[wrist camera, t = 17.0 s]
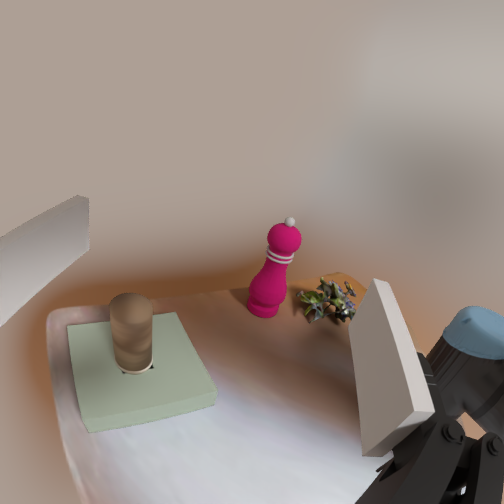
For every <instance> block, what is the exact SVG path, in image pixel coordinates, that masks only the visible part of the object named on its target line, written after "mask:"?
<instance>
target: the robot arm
mask: <svg viewBox="0 0 504 504" xmlns="http://www.w3.org/2000/svg"><path fill="white" fill-rule="evenodd" d="M89 249H90V247H89V198H86V197H82V196H78V195H77V196H75V197H73V198H71V199H69V200H67V201H65V202H63V203H61V204H59V205H57V206H55V207H53V208H51V209H49V210H47V211H46V212H44V213H42V214H40V215H38V216H36V217H35V218H33V219H31V220H29V221H28V222H26V223H24V224H22V225H21V226H19V227H17V228H15V229H14V230H12V231H10V232H9V233H7V234H6V235H4V236H2V237H1V238H0V327H1V326H2V325H3V324H5V322H6V321H8V320H9V319H10V318H11V317H12V316H13V315H14V314H15V313H16V312H17V311H18V310H19V309H20V308H21V307H22V306H23V305H25V304H26V303H27V302H28V301H29V300H30V299H31V298H32V297H33V296H34V295H36V294H37V292H39V291H40V290H41V289H42V288H43V287H45V286H46V285H47V284H48V283H49V282H50V281H52V280H53V279H54V278H55V277H56V276H57V275H59V274H60V273H61V272H62V271H63V270H65V269H66V268H67V267H68V266H70V265H71V264H72V263H73V262H74V261H76V260H77V259H78V258H79V257H81V256H82V255H83V254H85V253H86V252H87V251H88V250H89ZM348 331H349V337H350V343H351V350H352V357H353V364H354V372H355V380H356V388H357V397H358V407H359V417H360V429H361V442H362V456H370V457H383V456H384V455H385V454H387V453H388V452H389V451H390V450H393V453H394V457H393V458H392V459H391V460H389V461H388V462H387V463H385V464H384V465H382V466H381V467H379V468H378V469H377V470H376V472H379V471H381V470H382V469H383V470H382V471H381V472H380V474H379V475H378V476H377V478H376V479H375V480H374V481H373V483H372V484H371V485H370V486H369V487H368V489H367V490H366V491H365V492H364V493H363V495H362V496H361V497H360V498H359V499H358V500H357V502H356V503H355V504H501V500H502V493H503V483H504V317H503V316H501V315H499V314H498V313H496V312H494V311H492V310H489V309H486V308H483V307H479V306H468V307H465V308H463V309H462V310H460V311H459V312H458V313H457V315H456V316H455V317H454V319H453V320H452V322H451V323H450V324H449V325H448V326H447V327H446V328H445V329H444V331H443V334H442V336H441V337H440V339H439V340H438V342H437V343H436V344H435V346H434V347H433V349H432V350H431V351H430V353H429V354H428V355H427V356H426V358H425V357H424V356H423V354H422V353H418V352H416V350H415V347H414V345H413V342H412V339H411V337H410V334H409V331H408V329H407V326H406V324H405V321H404V319H403V316H402V314H401V311H400V309H399V306H398V304H397V302H396V299H395V297H394V295H393V292H392V290H391V288H390V285H389V283H388V282H385V281H381V280H378V279H374V278H373V280H372V282H371V284H370V286H369V288H368V290H367V292H366V294H365V296H364V298H363V300H362V301H361V303H360V305H359V307H358V309H357V311H356V313H355V315H354V317H353V318H352V320H351V322H350V324H349V326H348ZM464 412H466V413H467V414H468V415H469V416H470V417H472V419H473V420H474V421H475V422H476V423H477V424H478V425H479V426H480V427H482V429H483V430H484V431H485V432H486V434H485V435H483V436H482V437H481V438H480V439H479V440H476V439H472V438H470V437H467V436H465V432H464V430H463V428H462V426H461V425H460V424H459V423H458V422H457V421H456V420H457V419H458V418H459V417H460V416H461V415H462V414H463V413H464ZM465 486H466V490H465V493H464V494H462V495H461V489H462V488H463V487H465Z"/></svg>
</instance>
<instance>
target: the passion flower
mask: <svg viewBox="0 0 504 504" xmlns="http://www.w3.org/2000/svg"><path fill="white" fill-rule="evenodd" d="M332 281H333V280H332ZM320 282H321V283H322V284H321V285H319V286H318V287H317V289H318V290H321V291H323V292H324V294H322V293H320V294H318V293H317V292H314V291H309V292H307V293H305V294H303V293H304V292H303V291H302V290H301V292H298V293H297V294H296V296H297V297H298V296H299V295H300V294H302V296H301V302H306V303H309V304H312V305H310V306H309V307H308V308H307V309H306V311H305V313H304V316H306V315H307V313H308V312H309V311H310V310H311V309H314V308H315V309H316V313H315V317H314V319H313V320H312V321H310V322H309V323H311V322H313V321H315V320H317V319H319V318H324V317H325V316H326V315H330V314H334V313H335V316H336V318H339V319H340V320H341V321H342V322H345V318H346V317H349V318H350V320H352V318H353V317H354V315H355V313H356V309H354V308H353V307H352V306H353V305H355V304H354V303H352V302H351V301H350V300H348V299H349V298H347V295H348V294H349V293H350V295H351V296H354V297H356V294H355V292H354V290H353V288H352V287H351V286H350V284H348V283H347V282H346V281H345V285H346V288H347V289H348V291H347V293H343V291H342V289H341V288H340V286H339V287H338V285H337V283H334V282H332V283H331V281H330V282H329V283H330V285H329V284H327V283H326V282H325V281H324V280H323V277H321V279H320ZM322 296H323V297H322ZM329 296H330V299H328V297H329ZM324 302H329V303H330V305H334V306H335V307H336V310H335V312H332V313H328V314H324V311H325V310H326V309H327V308H328V307H329V306H330V305H329V306H328V307H326V308H325V309H323V308H322V305H323V303H324ZM317 306H319V307H320V308H321V311H319V310H318V309H317Z"/></svg>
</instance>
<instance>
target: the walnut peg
mask: <svg viewBox="0 0 504 504" xmlns="http://www.w3.org/2000/svg"><path fill="white" fill-rule="evenodd" d="M109 313H110V323H111V332H112V340H113V348H114V360H115V364H116V366H117V367H118V368H119V369H120V370H121V371H123V372H125V373H127V374H132V375H137V374H142V373H144V372H146V371H148V370H149V369H150V368H151V366H152V363H153V355H152V322H153V306H152V303H151V302H150V300H149V299H148V298H146V297H145V296H143V295H140V294H136V293H124V294H120V295H118V296H116V297H114V298H113V299H112V300H111V302H110V304H109Z"/></svg>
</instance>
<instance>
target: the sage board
mask: <svg viewBox="0 0 504 504" xmlns="http://www.w3.org/2000/svg"><path fill="white" fill-rule="evenodd" d="M67 329H68V339H69V348H70V356H71V363H72V370H73V376H74V382H75V388H76V393H77V398H78V403H79V407H80V412H81V416H82V420H83V422H84V424H85V426H86V428H87V430H88V432H89V433H93V432H100V431H106V430H112V429H118V428H123V427H129V426H134V425H139V424H143V423H148V422H153V421H157V420H161V419H165V418H169V417H173V416H177V415H181V414H185V413H189V412H192V411H196V410H199V409H203V408H206V407H209V406H213V405H214V404H215V400H216V397H217V393H218V389H217V387H216V386H215V384H214V382H213V380H212V379H211V377H210V375H209V373H208V372H207V370H206V368H205V366H204V365H203V363H202V361H201V359H200V358H199V356H198V354H197V352H196V350H195V348H194V347H193V345H192V343H191V341H190V339H189V337H188V335H187V333H186V332H185V330H184V328H183V326H182V324H181V322H180V320H179V318H178V316H177V314H176V312H171V313H165V314H158V315H153V322H152V355H153V363H152V366H151V368H150V369H149V370H148V371H146V372H144V373H142V374H137V375H132V374H127V373H125V374H123V373H122V371H121V370H120V369H119V368H118V367H117V366H116V364H115V360H114V348H113V340H112V332H111V323H110V321H106V322H98V323H89V324H80V325H71V326H67Z"/></svg>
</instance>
